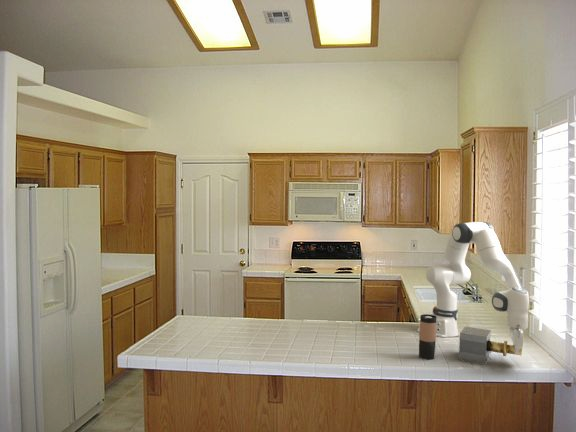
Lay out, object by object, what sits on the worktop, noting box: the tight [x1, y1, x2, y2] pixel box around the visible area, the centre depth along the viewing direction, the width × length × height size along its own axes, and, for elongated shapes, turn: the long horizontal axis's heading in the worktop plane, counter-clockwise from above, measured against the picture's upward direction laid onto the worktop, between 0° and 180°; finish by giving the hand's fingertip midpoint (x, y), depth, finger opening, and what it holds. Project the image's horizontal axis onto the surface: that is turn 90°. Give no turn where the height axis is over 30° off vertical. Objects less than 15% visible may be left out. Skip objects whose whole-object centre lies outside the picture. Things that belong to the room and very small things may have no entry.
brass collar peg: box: [487, 340, 523, 357], centre depth 249 cm, size 15×7×7 cm, turn 62°
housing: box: [458, 325, 492, 365], centre depth 256 cm, size 12×14×13 cm
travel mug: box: [418, 313, 437, 361], centre depth 254 cm, size 8×8×20 cm
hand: (515, 352), depth 247 cm, fingers closed on brass collar peg, 4 cm apart
